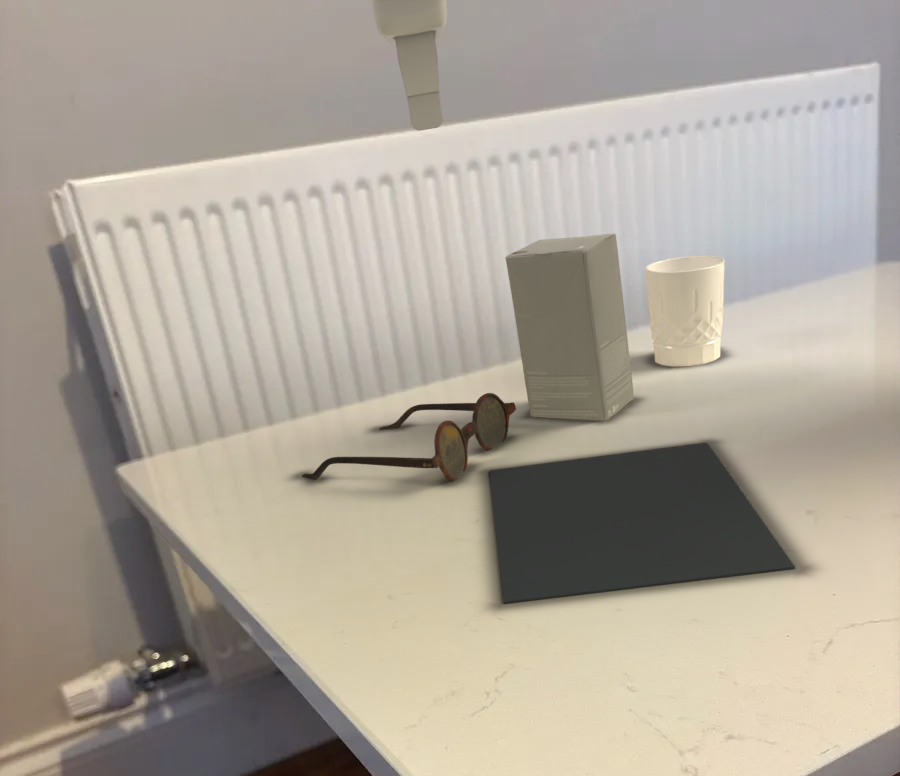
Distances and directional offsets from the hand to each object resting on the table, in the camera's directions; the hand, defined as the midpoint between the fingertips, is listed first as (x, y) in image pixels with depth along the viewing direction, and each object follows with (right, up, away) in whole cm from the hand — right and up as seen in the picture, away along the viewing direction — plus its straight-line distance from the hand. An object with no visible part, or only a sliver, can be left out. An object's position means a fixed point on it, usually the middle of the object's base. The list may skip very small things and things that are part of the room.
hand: (428, 125), depth 62 cm
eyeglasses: (-2, -16, +31) cm, 35 cm away
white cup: (+26, -4, +47) cm, 54 cm away
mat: (+14, -23, +13) cm, 29 cm away
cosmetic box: (+14, -11, +36) cm, 40 cm away
